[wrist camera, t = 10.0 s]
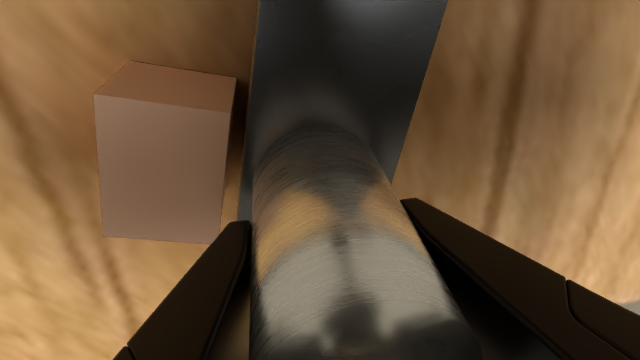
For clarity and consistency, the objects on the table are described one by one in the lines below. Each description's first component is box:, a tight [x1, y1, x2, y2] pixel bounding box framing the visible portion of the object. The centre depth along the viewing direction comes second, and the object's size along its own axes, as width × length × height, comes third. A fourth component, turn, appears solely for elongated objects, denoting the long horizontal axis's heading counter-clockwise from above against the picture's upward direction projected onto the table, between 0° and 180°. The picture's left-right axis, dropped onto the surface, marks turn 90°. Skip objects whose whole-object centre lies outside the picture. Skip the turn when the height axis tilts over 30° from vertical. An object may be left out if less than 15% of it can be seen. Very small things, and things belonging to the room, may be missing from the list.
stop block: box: [93, 61, 236, 244], centre depth 11 cm, size 4×3×3 cm
